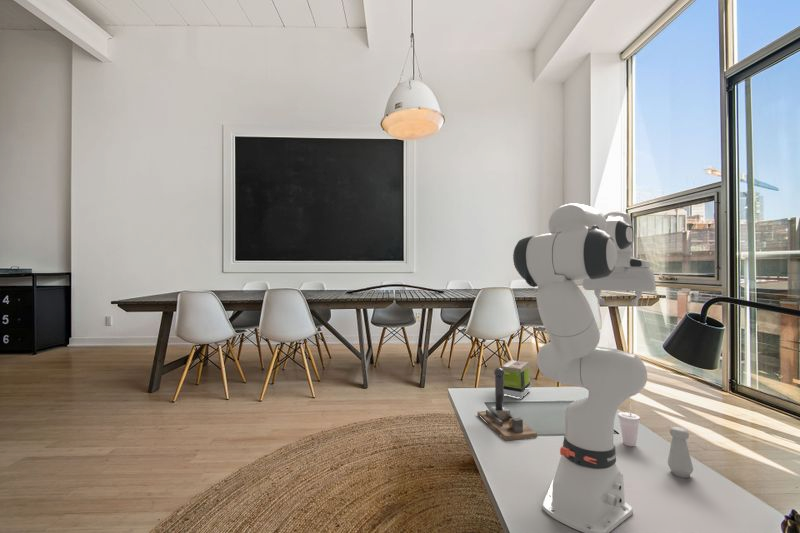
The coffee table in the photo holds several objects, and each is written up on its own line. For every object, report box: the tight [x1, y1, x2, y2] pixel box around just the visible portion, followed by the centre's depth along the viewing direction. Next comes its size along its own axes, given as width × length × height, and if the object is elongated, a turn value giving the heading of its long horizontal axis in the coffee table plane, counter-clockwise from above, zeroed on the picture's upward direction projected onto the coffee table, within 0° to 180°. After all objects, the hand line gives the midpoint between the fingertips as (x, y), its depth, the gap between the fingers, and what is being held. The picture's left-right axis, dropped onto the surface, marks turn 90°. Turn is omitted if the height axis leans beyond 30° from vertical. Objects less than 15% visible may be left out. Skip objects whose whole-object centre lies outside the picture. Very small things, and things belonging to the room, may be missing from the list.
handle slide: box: [490, 367, 511, 421], centre depth 139 cm, size 6×5×19 cm
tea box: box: [500, 359, 531, 398], centre depth 172 cm, size 15×10×15 cm, turn 144°
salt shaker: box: [667, 426, 694, 479], centre depth 102 cm, size 6×6×13 cm
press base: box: [477, 409, 538, 442], centre depth 135 cm, size 23×12×6 cm, turn 13°
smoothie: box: [617, 402, 641, 447], centre depth 120 cm, size 6×6×14 cm
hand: (617, 304), depth 114 cm, fingers open, 8 cm apart
